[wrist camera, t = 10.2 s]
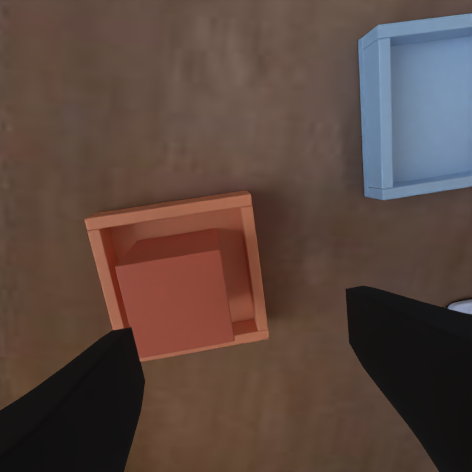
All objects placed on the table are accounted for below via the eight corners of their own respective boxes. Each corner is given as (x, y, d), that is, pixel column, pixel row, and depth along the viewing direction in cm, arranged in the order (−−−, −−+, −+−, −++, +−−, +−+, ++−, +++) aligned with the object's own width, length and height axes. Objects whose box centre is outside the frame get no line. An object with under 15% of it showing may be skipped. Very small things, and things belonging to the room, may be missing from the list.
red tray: (263, 321, 20) (269, 339, 18) (130, 345, 19) (121, 365, 17) (245, 190, 18) (251, 193, 16) (97, 212, 17) (83, 218, 15)
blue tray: (495, 176, 19) (529, 177, 17) (364, 196, 18) (382, 200, 16) (504, 22, 17) (543, 3, 15) (357, 40, 16) (378, 23, 15)
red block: (228, 300, 19) (235, 342, 14) (152, 313, 18) (137, 359, 14) (216, 227, 17) (220, 249, 13) (136, 240, 17) (114, 266, 13)
